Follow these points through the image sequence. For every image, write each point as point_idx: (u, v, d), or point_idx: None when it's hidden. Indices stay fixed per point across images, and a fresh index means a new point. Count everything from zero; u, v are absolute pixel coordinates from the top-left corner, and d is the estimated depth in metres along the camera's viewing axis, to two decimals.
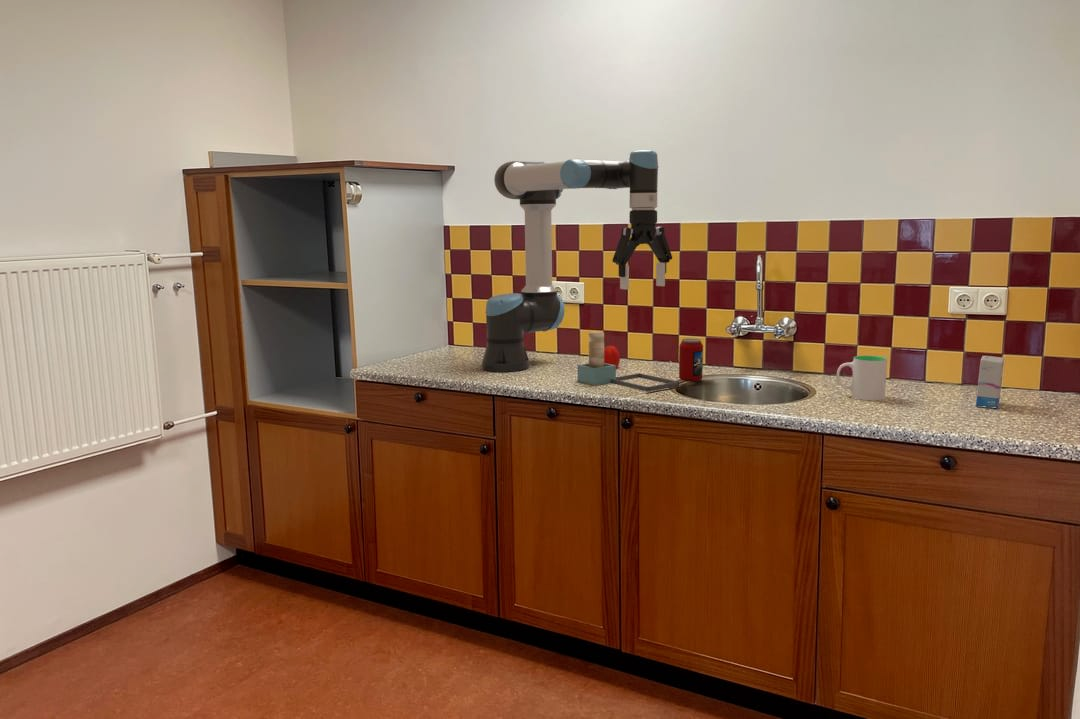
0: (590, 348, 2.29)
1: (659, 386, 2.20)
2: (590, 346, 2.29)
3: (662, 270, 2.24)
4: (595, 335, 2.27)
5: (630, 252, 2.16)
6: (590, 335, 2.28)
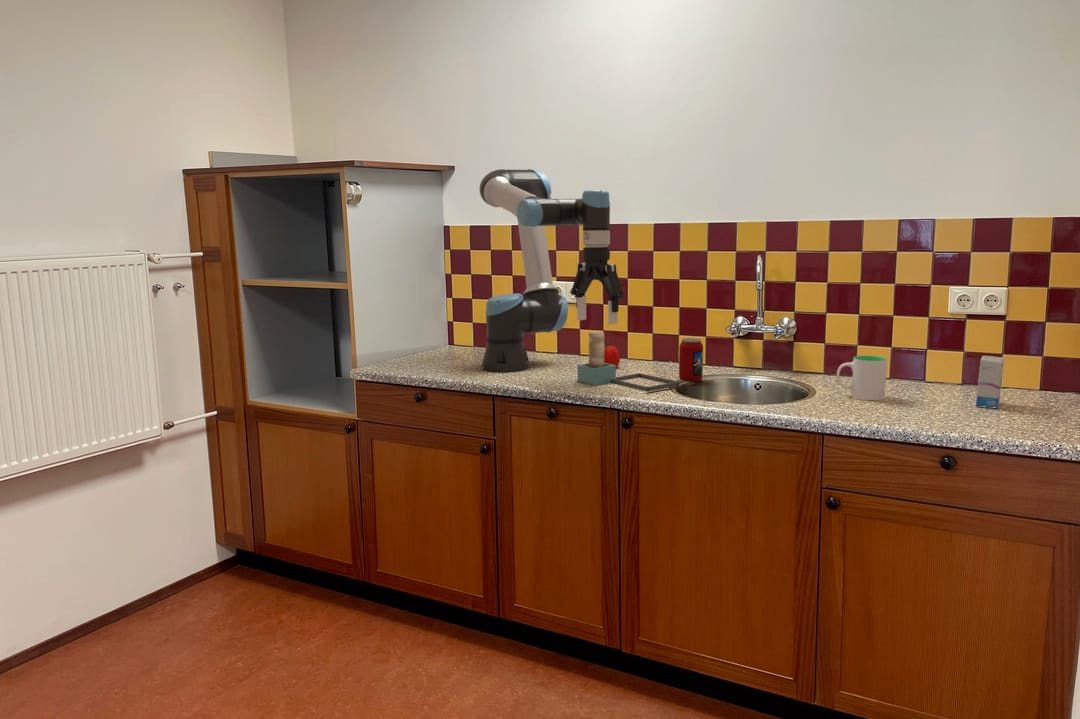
0: (590, 348, 2.29)
1: (659, 386, 2.20)
2: (590, 346, 2.29)
3: None
4: (595, 335, 2.27)
5: (580, 286, 2.30)
6: (590, 335, 2.28)
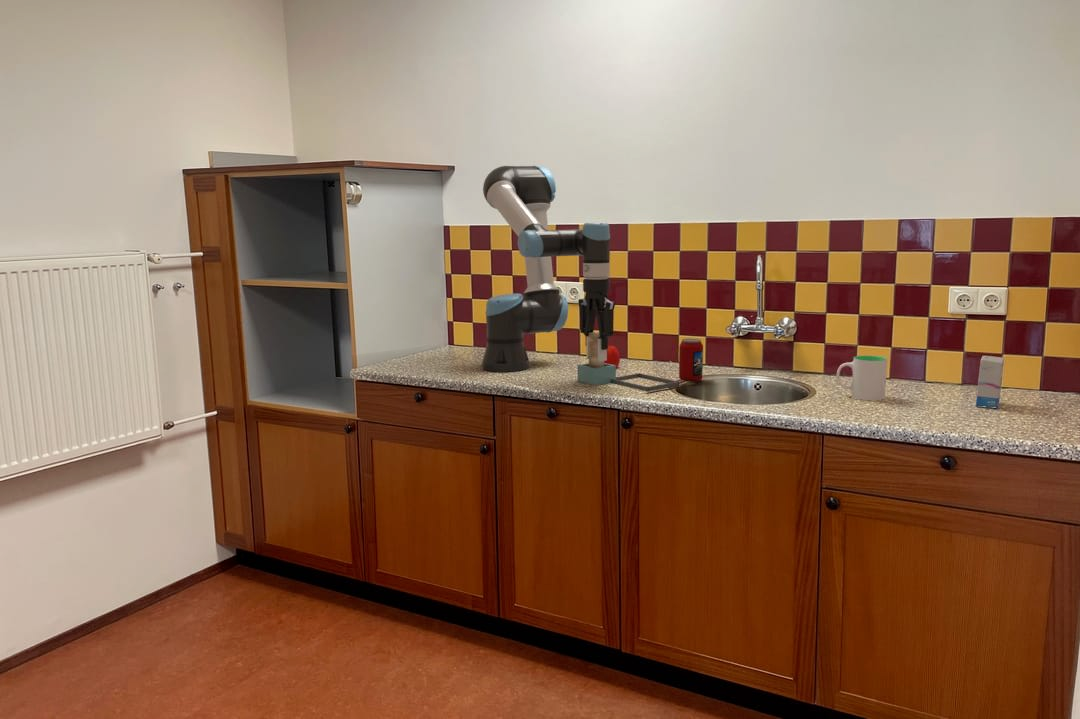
0: (590, 348, 2.29)
1: (659, 386, 2.20)
2: (590, 346, 2.29)
3: None
4: (595, 335, 2.27)
5: (586, 322, 2.30)
6: (590, 335, 2.28)
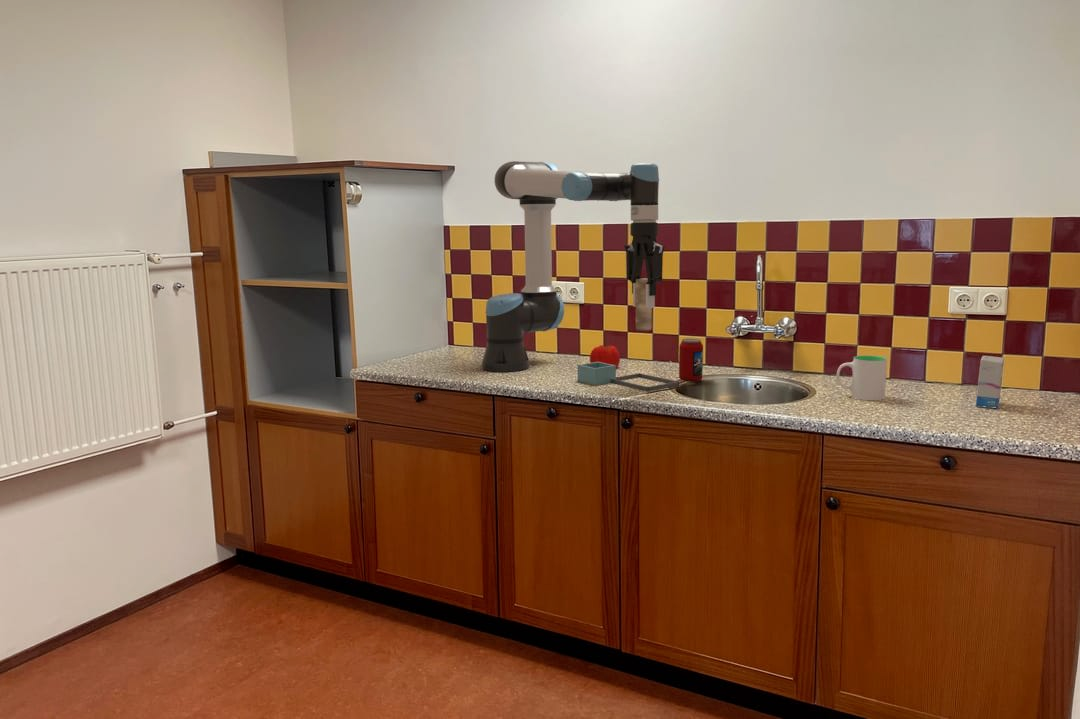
0: (637, 294, 2.22)
1: (659, 386, 2.20)
2: (637, 292, 2.22)
3: None
4: (643, 281, 2.20)
5: (633, 268, 2.23)
6: (637, 281, 2.21)
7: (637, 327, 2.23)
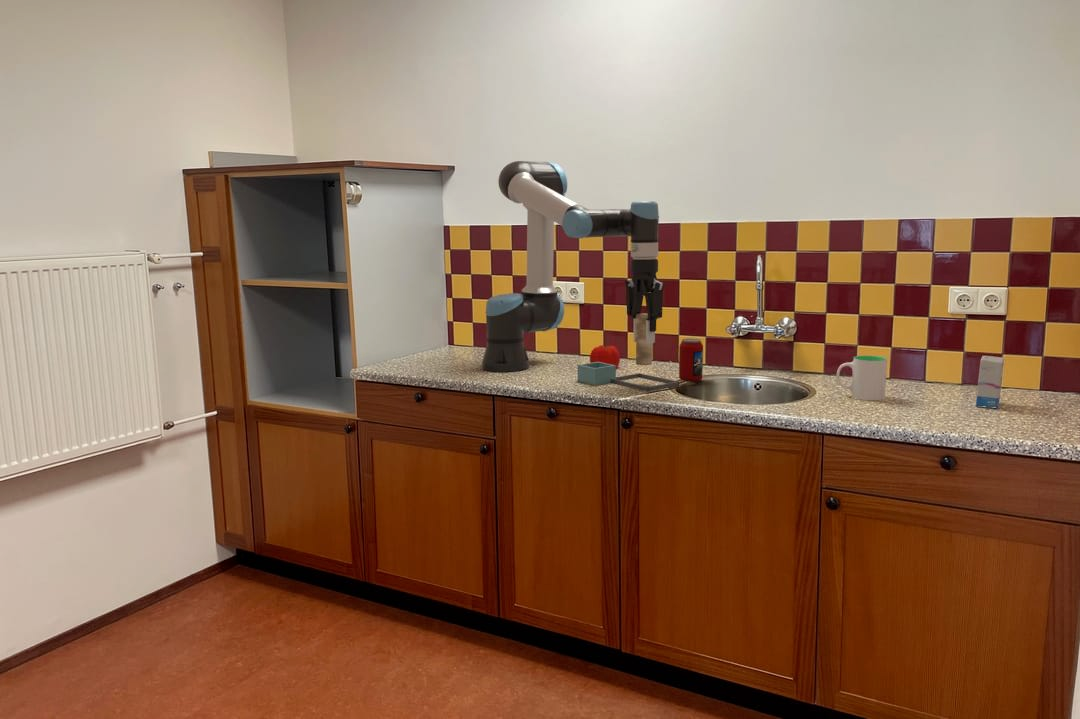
0: (638, 330, 2.23)
1: (659, 386, 2.20)
2: (638, 328, 2.23)
3: None
4: (643, 316, 2.22)
5: (633, 304, 2.25)
6: (638, 316, 2.23)
7: (637, 362, 2.25)
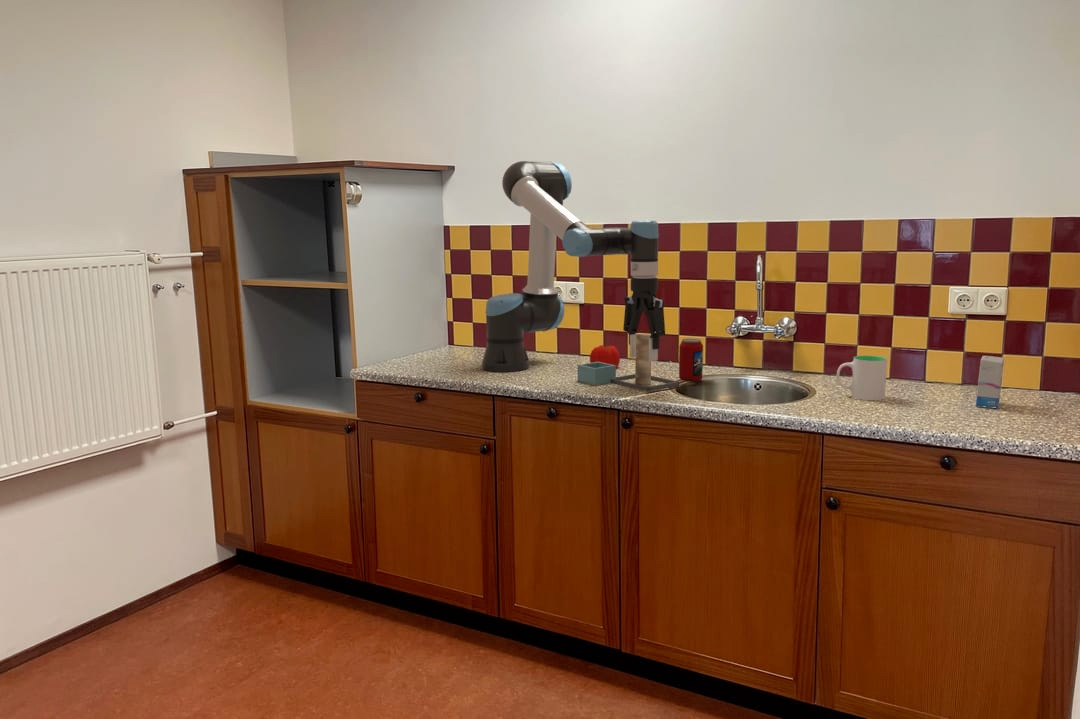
0: (637, 350, 2.25)
1: (659, 386, 2.20)
2: (637, 348, 2.24)
3: None
4: (643, 337, 2.23)
5: (631, 321, 2.27)
6: (638, 337, 2.24)
7: (636, 382, 2.26)
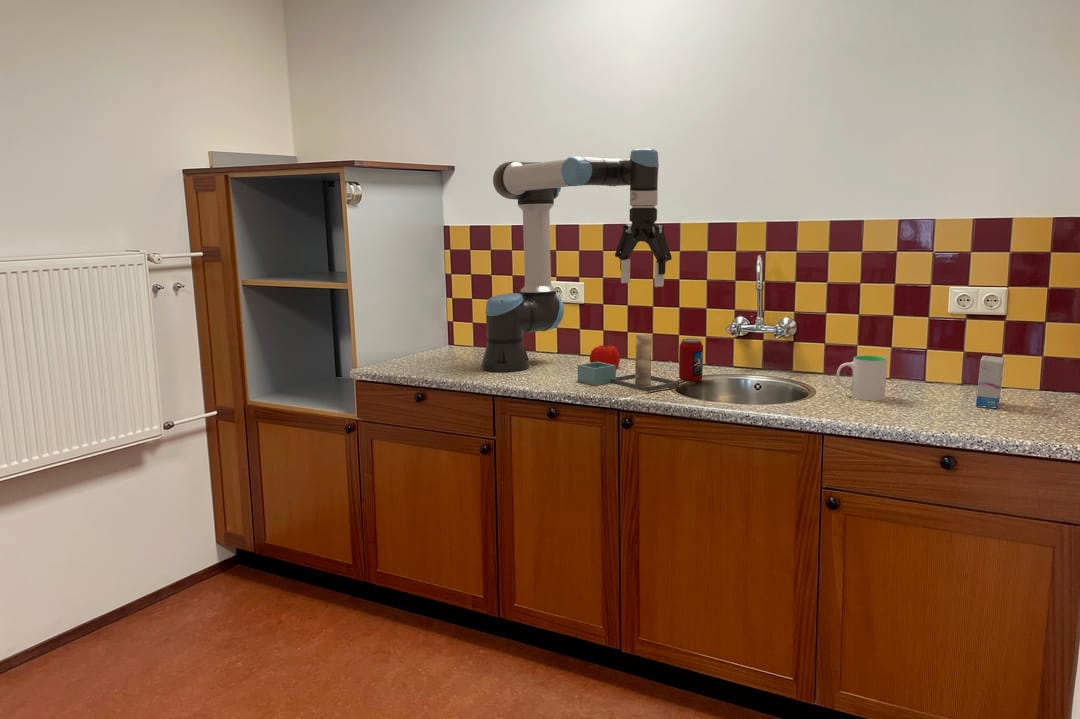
0: (637, 350, 2.25)
1: (659, 386, 2.20)
2: (637, 348, 2.25)
3: None
4: (643, 337, 2.23)
5: (625, 248, 2.26)
6: (637, 337, 2.24)
7: (636, 382, 2.26)
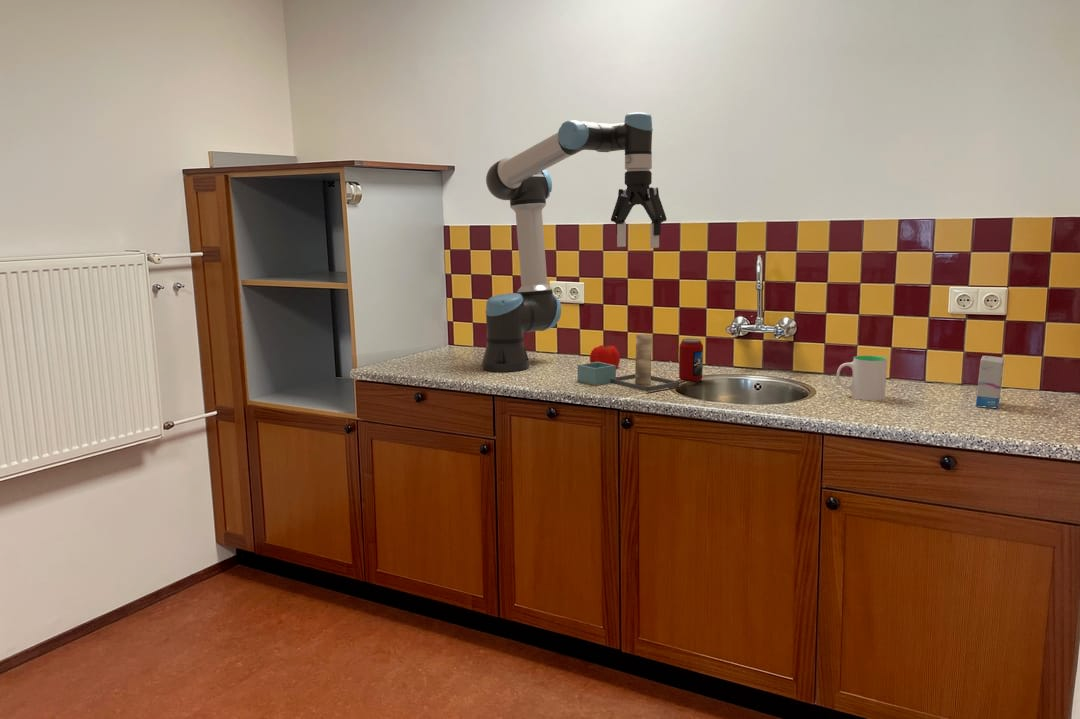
0: (637, 350, 2.25)
1: (659, 386, 2.20)
2: (637, 348, 2.25)
3: None
4: (643, 337, 2.23)
5: (621, 212, 2.31)
6: (638, 337, 2.24)
7: (636, 382, 2.26)
